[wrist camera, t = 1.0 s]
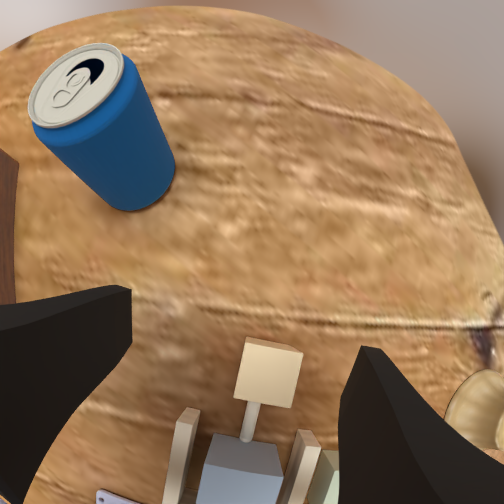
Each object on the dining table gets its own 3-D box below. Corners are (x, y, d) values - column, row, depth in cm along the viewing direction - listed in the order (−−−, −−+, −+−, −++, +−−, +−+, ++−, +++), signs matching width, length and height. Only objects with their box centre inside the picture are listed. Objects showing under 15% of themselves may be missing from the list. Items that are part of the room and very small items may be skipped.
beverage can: (192, 159, 25) (157, 49, 13) (146, 228, 23) (69, 152, 12) (132, 130, 25) (78, 32, 13) (87, 192, 24) (3, 115, 12)
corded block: (262, 492, 19) (266, 535, 13) (203, 481, 19) (190, 523, 14) (299, 346, 22) (317, 355, 16) (235, 334, 22) (230, 339, 16)
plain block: (359, 497, 19) (375, 521, 15) (306, 496, 19) (316, 522, 15) (375, 451, 20) (396, 471, 16) (321, 449, 20) (335, 470, 16)
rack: (376, 515, 19) (390, 535, 15) (170, 493, 19) (160, 515, 16) (406, 436, 20) (426, 449, 17) (187, 406, 21) (176, 420, 17)
